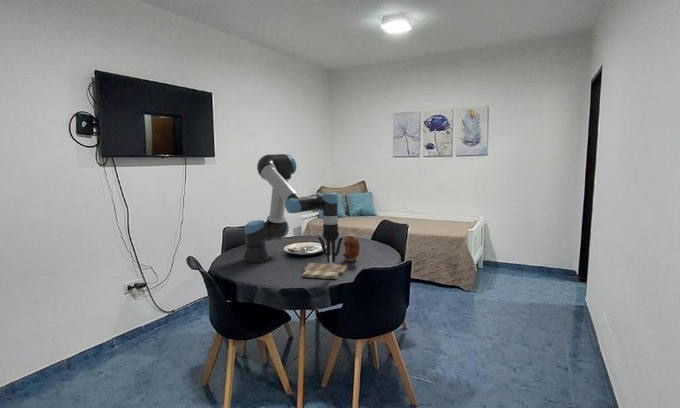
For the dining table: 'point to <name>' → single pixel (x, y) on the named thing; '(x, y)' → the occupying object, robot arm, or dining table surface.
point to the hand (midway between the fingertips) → (331, 268)
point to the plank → (321, 274)
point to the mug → (351, 248)
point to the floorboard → (326, 267)
